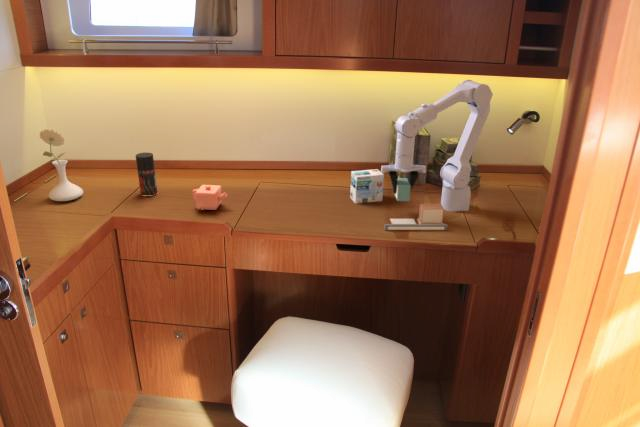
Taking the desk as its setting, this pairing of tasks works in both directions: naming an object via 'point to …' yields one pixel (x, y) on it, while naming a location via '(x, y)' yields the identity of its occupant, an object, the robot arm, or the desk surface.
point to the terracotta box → (431, 213)
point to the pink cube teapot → (208, 197)
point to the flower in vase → (60, 170)
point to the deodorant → (146, 173)
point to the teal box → (402, 189)
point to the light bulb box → (366, 186)
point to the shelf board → (413, 225)
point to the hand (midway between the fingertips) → (401, 192)
